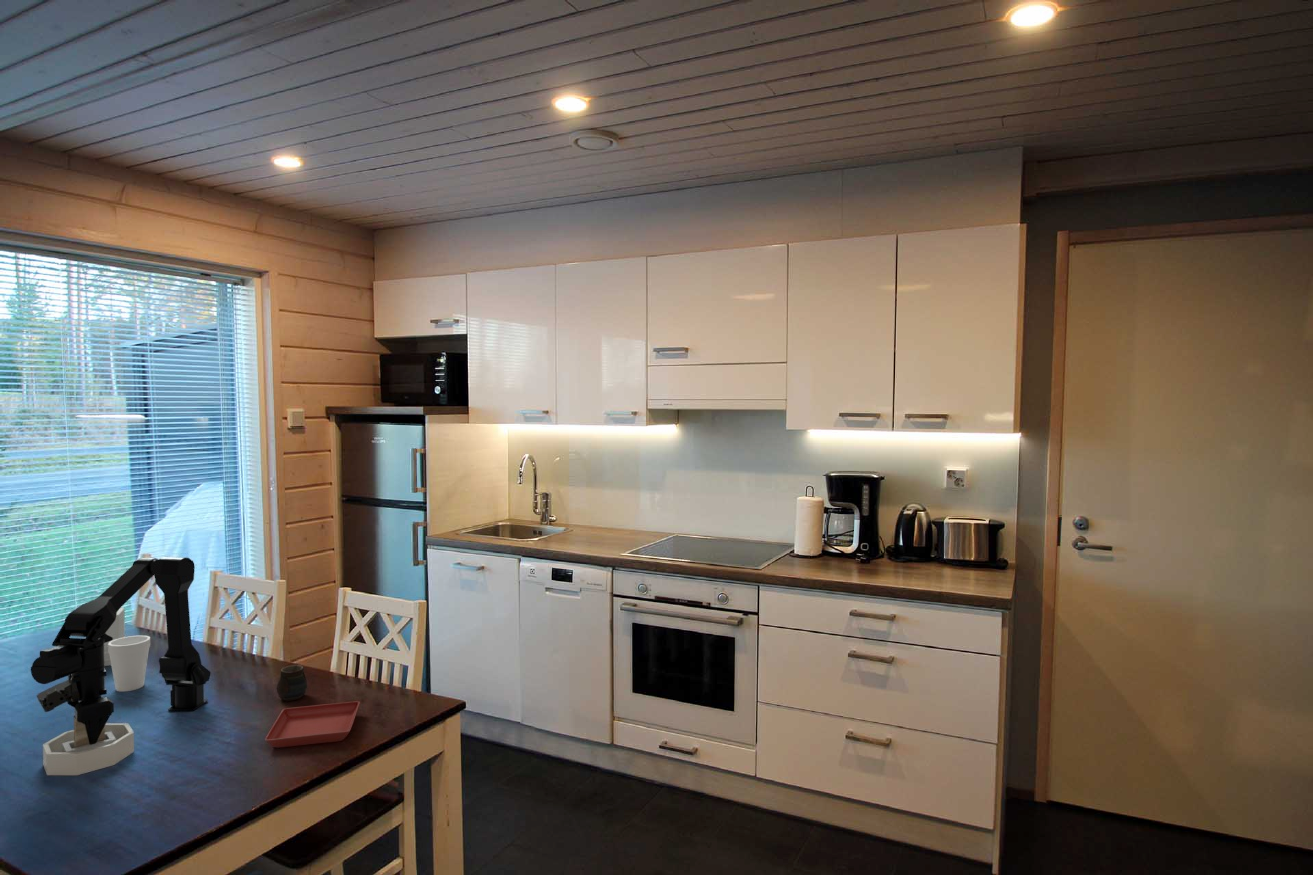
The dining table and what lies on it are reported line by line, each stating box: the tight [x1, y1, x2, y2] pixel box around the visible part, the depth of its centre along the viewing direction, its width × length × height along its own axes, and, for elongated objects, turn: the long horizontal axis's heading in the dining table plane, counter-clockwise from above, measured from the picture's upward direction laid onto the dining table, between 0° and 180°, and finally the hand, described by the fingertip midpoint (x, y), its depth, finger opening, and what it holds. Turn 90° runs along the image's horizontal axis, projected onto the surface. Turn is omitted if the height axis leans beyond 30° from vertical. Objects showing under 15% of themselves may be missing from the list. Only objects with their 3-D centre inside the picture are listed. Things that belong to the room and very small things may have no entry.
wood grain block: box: [73, 715, 105, 748], centre depth 158 cm, size 2×5×9 cm, turn 136°
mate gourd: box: [276, 664, 308, 702], centre depth 193 cm, size 7×8×10 cm
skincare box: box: [104, 606, 126, 667], centre depth 218 cm, size 8×7×16 cm
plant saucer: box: [264, 700, 361, 749], centre depth 173 cm, size 18×18×3 cm
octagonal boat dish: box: [42, 722, 135, 776], centre depth 158 cm, size 15×15×4 cm
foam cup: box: [108, 635, 151, 692], centre depth 199 cm, size 10×9×13 cm
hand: (89, 737), depth 158 cm, fingers open, 9 cm apart
